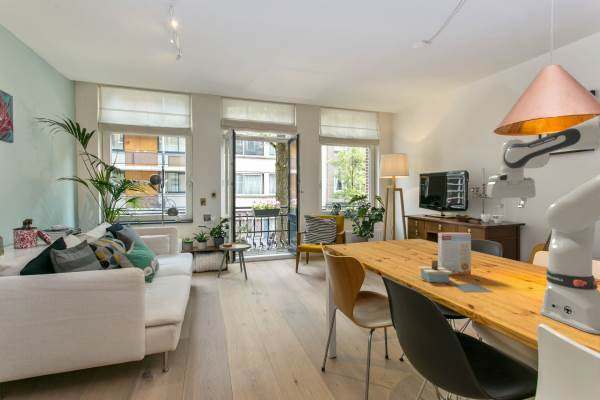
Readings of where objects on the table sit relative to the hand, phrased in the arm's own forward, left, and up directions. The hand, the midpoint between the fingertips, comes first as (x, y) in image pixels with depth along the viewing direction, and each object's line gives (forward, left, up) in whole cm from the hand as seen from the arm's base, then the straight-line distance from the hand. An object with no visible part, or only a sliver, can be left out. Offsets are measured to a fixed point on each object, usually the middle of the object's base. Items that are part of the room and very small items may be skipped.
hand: (510, 208), depth 137 cm
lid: (+5, +32, -30) cm, 44 cm away
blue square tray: (+5, +32, -34) cm, 47 cm away
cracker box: (+16, +17, -34) cm, 42 cm away
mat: (-7, +22, -34) cm, 41 cm away
